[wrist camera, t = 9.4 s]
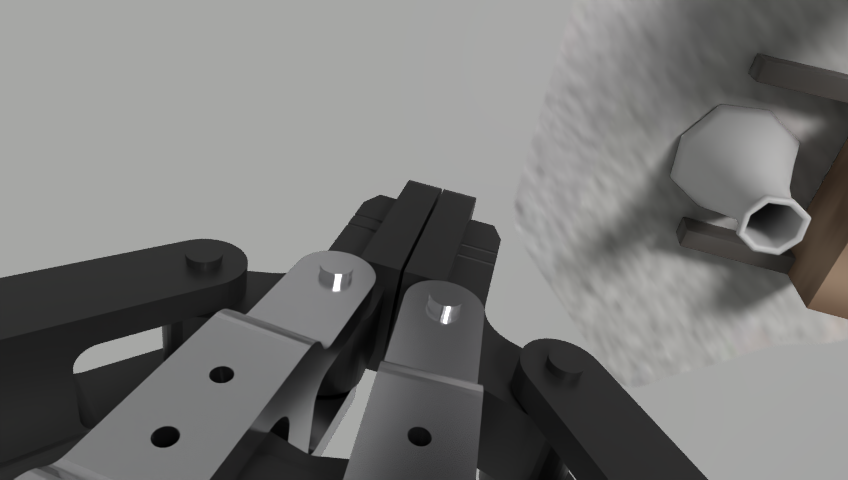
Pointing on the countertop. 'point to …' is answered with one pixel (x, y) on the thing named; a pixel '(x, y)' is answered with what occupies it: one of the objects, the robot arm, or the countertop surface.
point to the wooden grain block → (829, 210)
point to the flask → (744, 175)
